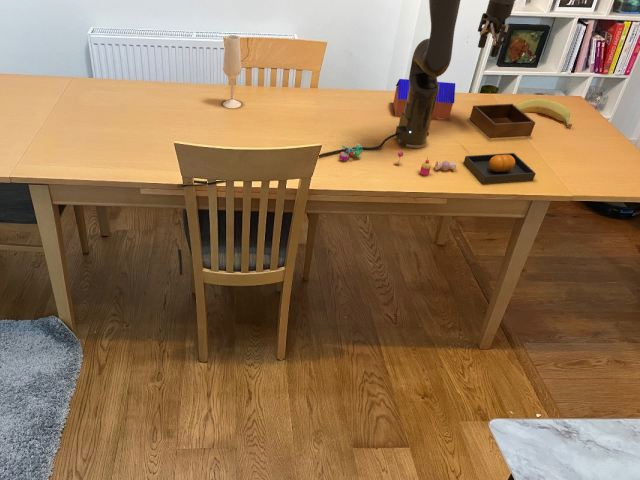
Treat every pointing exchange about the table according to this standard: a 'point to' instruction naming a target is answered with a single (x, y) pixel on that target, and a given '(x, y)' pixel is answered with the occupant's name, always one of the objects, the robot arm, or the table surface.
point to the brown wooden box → (502, 120)
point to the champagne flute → (232, 65)
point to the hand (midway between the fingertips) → (487, 52)
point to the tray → (487, 176)
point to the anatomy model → (350, 152)
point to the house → (442, 101)
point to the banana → (546, 109)
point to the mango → (501, 163)
